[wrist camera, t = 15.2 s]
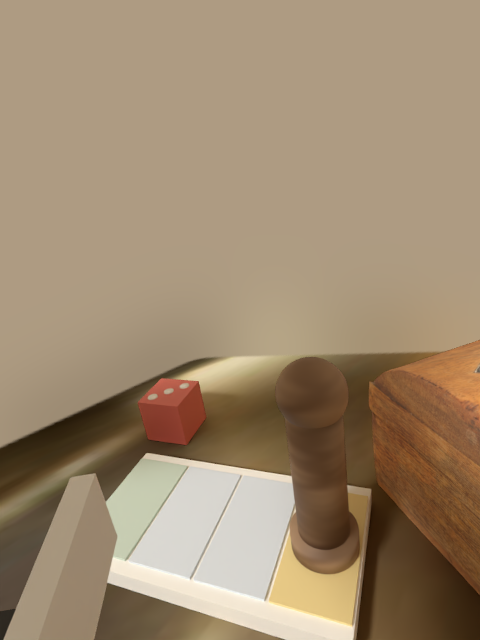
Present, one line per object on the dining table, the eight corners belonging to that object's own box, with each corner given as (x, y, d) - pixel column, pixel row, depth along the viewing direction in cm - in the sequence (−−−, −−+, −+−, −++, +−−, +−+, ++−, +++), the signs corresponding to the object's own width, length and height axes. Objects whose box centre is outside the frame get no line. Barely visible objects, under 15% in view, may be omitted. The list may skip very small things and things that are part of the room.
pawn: (283, 565, 28) (257, 379, 23) (299, 510, 33) (280, 342, 27) (355, 582, 27) (344, 385, 21) (362, 522, 31) (354, 344, 25)
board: (67, 569, 33) (61, 554, 32) (149, 464, 43) (146, 451, 42) (353, 661, 24) (352, 643, 24) (371, 502, 34) (371, 487, 34)
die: (148, 439, 47) (137, 401, 45) (170, 413, 51) (161, 377, 49) (186, 445, 45) (177, 406, 43) (206, 417, 49) (198, 380, 47)
